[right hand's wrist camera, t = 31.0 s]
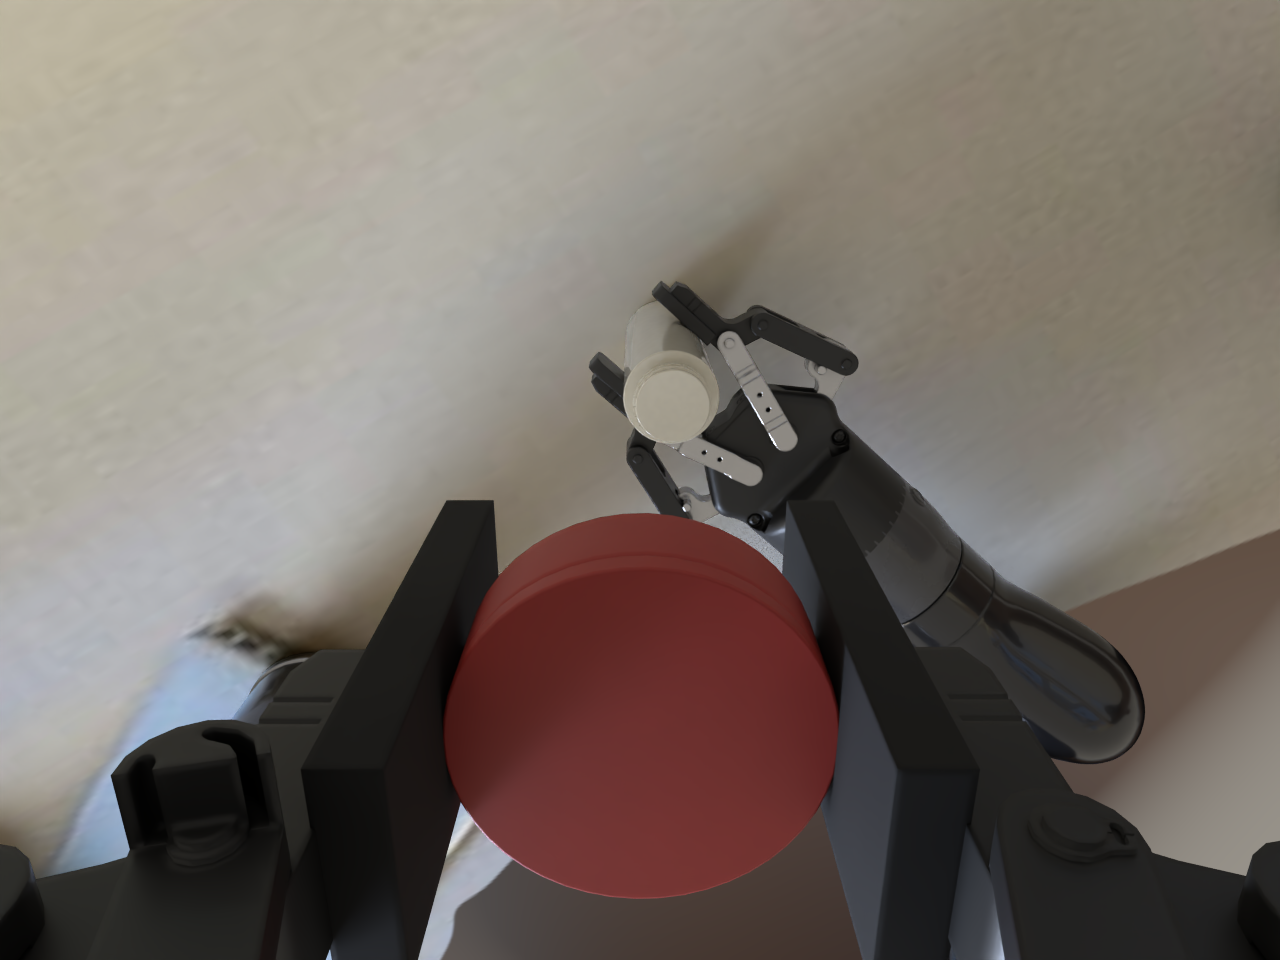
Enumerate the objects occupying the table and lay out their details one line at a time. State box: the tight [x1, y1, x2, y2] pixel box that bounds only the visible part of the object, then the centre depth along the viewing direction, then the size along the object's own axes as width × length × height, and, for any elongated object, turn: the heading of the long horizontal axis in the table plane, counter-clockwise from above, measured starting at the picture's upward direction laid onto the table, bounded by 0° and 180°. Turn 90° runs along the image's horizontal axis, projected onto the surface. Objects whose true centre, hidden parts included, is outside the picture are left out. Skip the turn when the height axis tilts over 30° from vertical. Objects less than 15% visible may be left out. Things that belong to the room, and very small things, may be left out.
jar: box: [623, 301, 720, 444], centre depth 45 cm, size 4×4×15 cm
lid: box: [443, 513, 839, 899], centre depth 11 cm, size 5×5×2 cm
